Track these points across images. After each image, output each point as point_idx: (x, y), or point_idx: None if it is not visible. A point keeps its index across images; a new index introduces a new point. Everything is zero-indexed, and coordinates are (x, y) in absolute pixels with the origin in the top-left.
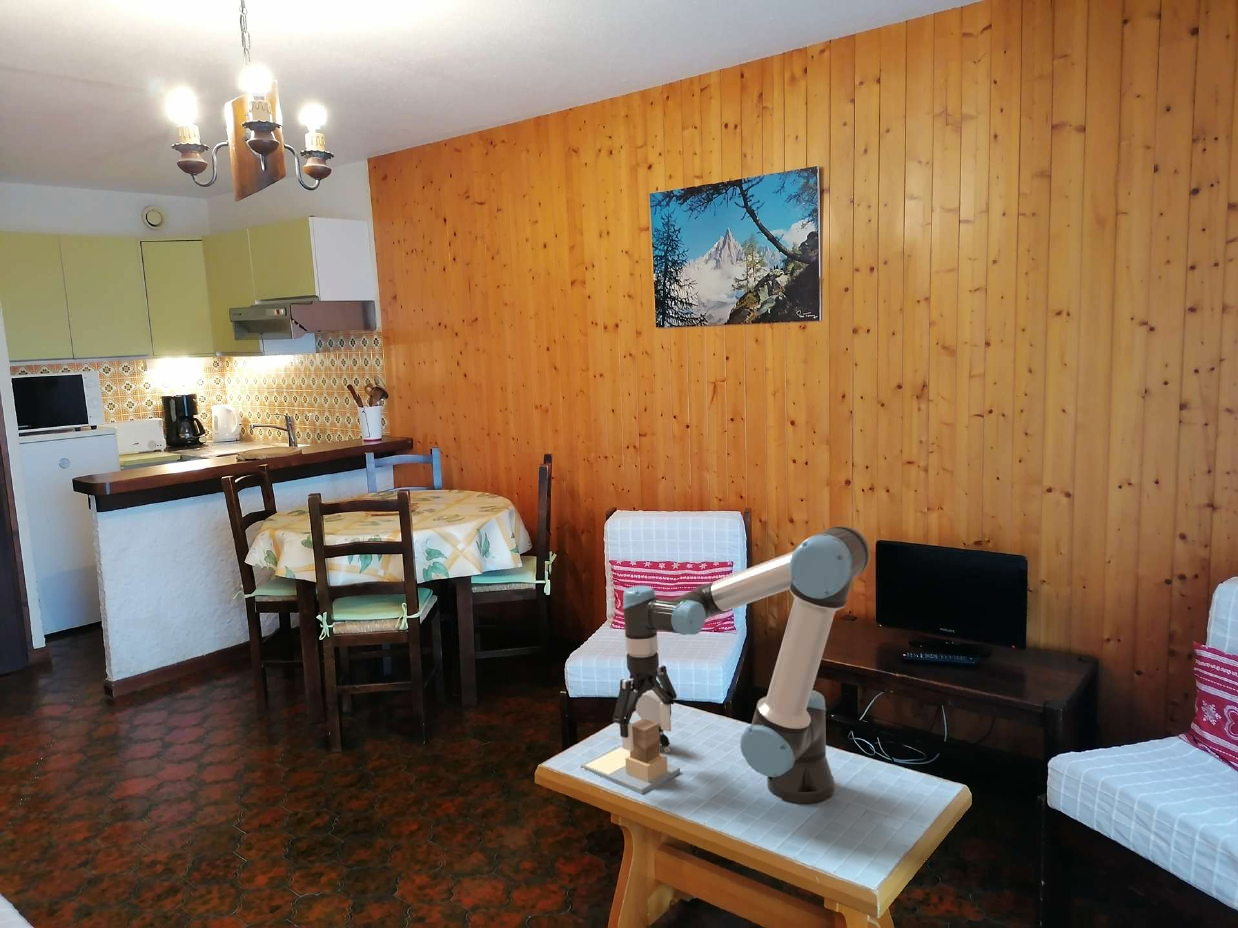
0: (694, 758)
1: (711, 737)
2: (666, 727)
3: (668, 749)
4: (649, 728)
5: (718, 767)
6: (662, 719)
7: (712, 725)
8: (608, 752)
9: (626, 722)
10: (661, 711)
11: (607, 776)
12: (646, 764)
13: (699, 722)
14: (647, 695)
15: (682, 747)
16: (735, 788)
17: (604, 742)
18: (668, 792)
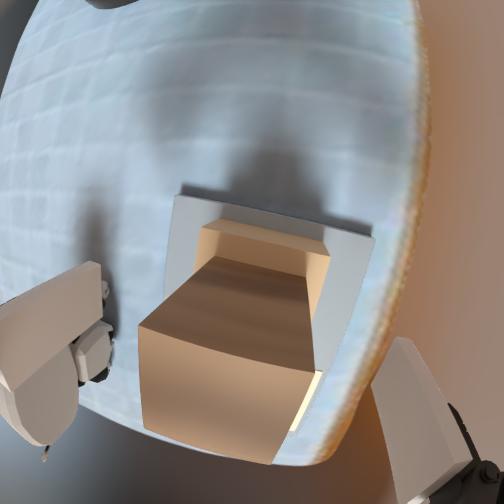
0: (97, 204)
1: (23, 226)
2: (90, 288)
3: (103, 285)
4: (250, 357)
5: (112, 117)
6: (68, 328)
7: (2, 251)
8: None
9: (495, 470)
10: (38, 355)
11: (329, 369)
12: (316, 268)
13: (7, 279)
14: (24, 426)
15: (72, 264)
16: (202, 19)
17: None
18: (321, 161)
